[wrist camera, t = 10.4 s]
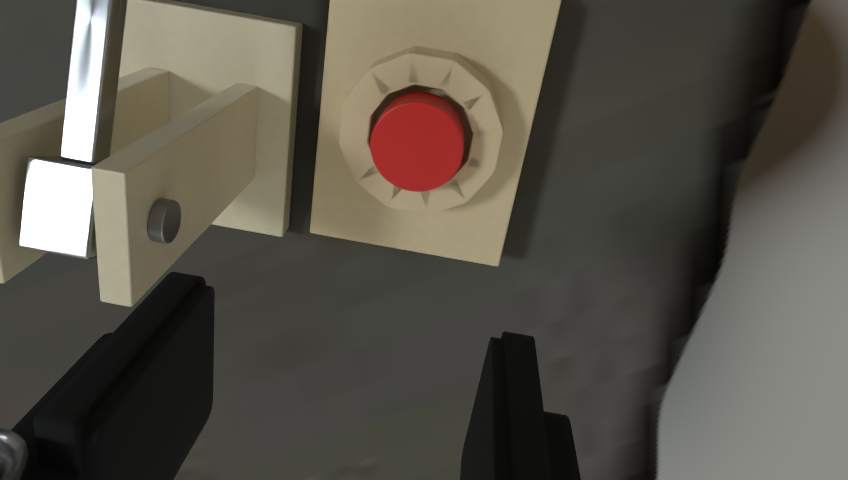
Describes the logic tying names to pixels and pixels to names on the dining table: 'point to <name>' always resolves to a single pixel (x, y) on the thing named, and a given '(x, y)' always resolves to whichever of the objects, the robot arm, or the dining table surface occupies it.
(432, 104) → the button
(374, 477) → the dining table surface
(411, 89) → the control box
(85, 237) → the switch lever
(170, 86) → the switch bracket
